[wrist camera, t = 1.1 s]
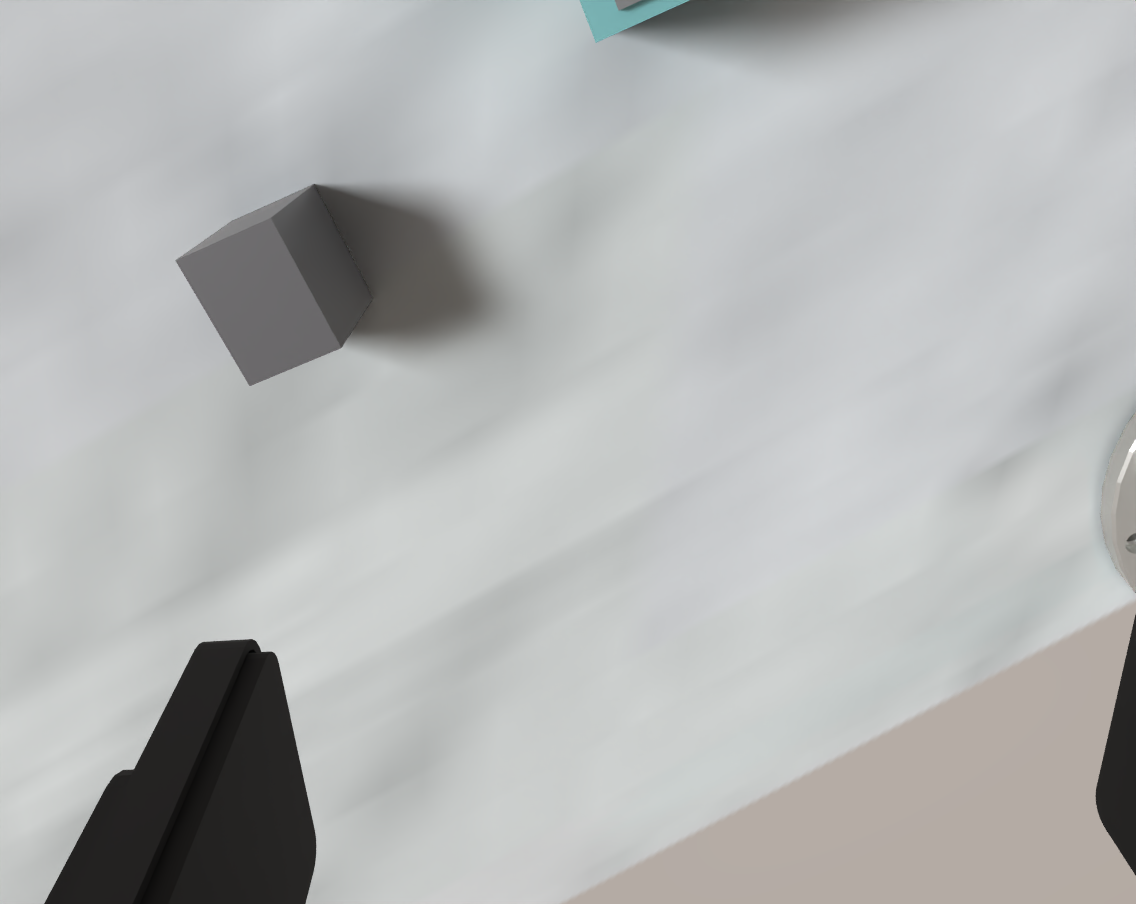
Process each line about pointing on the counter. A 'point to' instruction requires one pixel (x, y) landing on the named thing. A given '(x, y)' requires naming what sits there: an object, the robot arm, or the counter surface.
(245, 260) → the grey rectangular block
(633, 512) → the counter surface
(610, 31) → the teal module
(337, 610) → the counter surface
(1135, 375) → the counter surface
